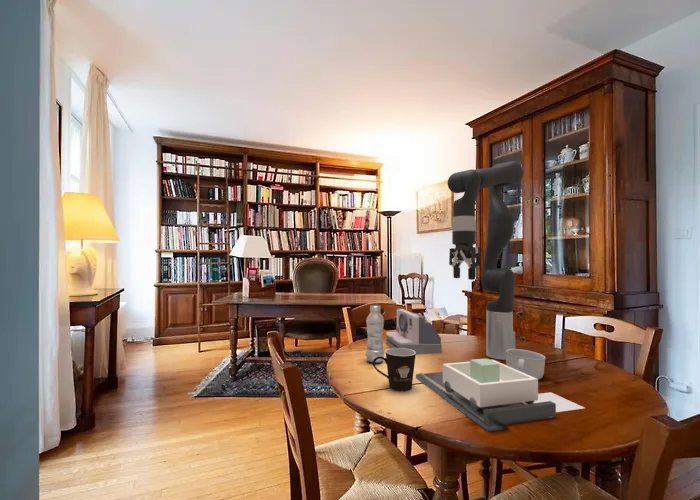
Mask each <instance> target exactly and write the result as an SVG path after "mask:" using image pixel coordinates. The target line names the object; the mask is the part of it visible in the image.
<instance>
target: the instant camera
mask: <svg viewBox="0 0 700 500" xmlns="http://www.w3.org/2000/svg"><path fill="white" fill-rule="evenodd" d="M385 335H386V337H385V338H386V341H385V342H386V345H387V346H389V348H390V349H391V348H406V349H411V350H414V351H415V352H416V355H428V354H432V355H434V354H442V353H443V352H442V350H443V349H442V347H443V346H442V337H441V336H440V334H439V333H438V331H437V330H436V329H435V327H434V326H433V324H432V323H431V322H429V321H427V319H426V317H425V316H424V315H422V314H419V313H418V312H410V311H408V310H405V309H404V308H397V309H396V330H395V331H394V330H393V331H387V332H386V333H385Z"/></svg>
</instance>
